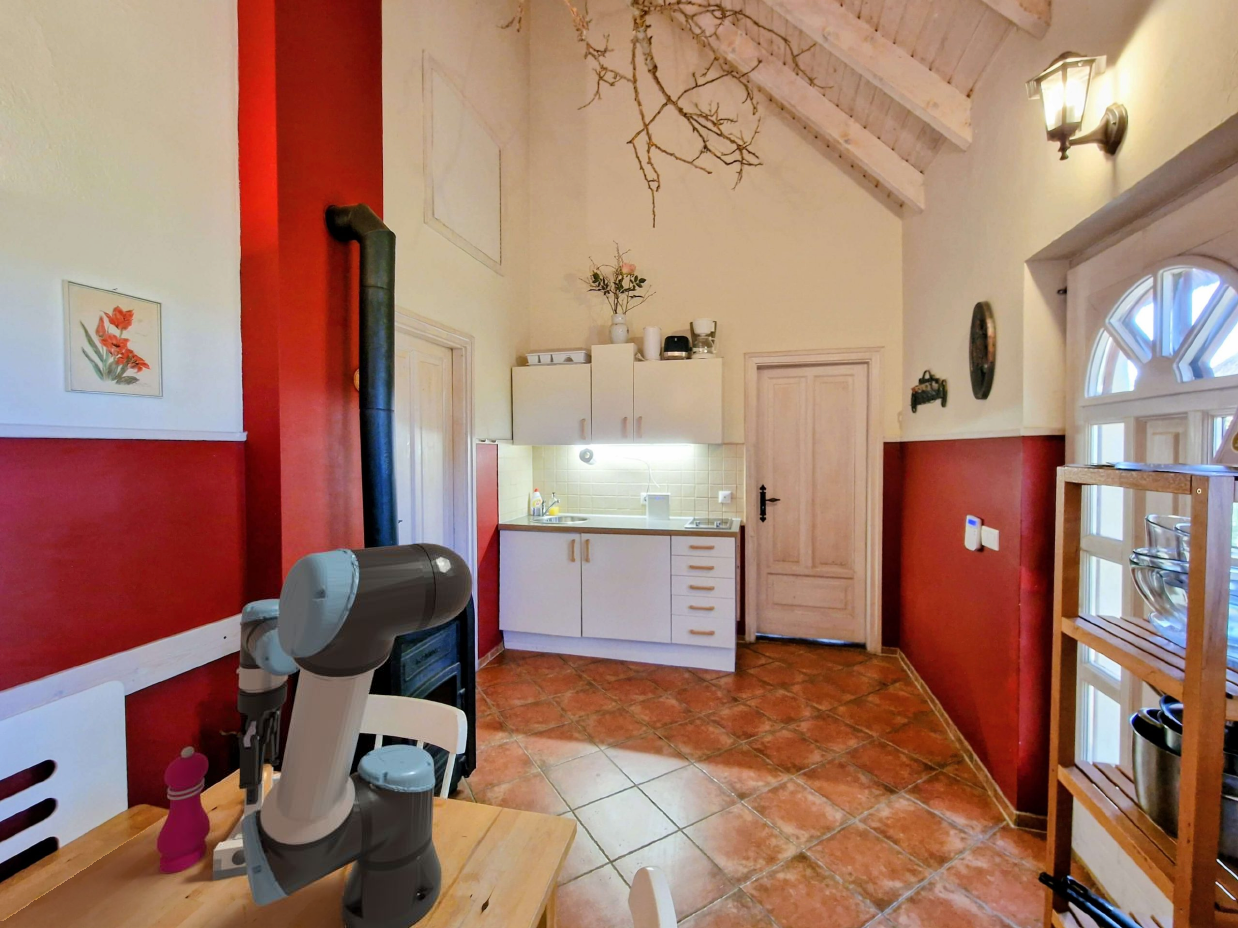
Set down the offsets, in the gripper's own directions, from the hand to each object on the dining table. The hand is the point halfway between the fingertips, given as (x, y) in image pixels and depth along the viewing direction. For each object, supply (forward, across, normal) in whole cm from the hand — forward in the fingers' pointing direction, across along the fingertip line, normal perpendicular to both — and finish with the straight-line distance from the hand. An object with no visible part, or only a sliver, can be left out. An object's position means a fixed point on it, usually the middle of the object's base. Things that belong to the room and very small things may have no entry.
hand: (258, 810), depth 93 cm
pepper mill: (+7, 0, -11) cm, 13 cm away
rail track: (+7, -4, 0) cm, 8 cm away
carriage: (+5, 0, 0) cm, 5 cm away
